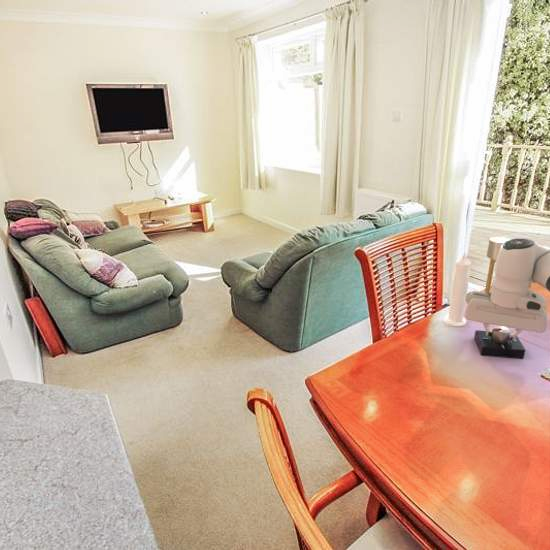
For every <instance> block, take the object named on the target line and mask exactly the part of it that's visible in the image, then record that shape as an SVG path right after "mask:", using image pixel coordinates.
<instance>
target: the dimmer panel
mask: <svg viewBox="0 0 550 550" xmlns="http://www.w3.org/2000/svg"><path fill="white" fill-rule="evenodd" d="M473 338H474V341H475V344H476V346H477V349H478V351H479V354H480V356H487V357H497V358H508V359H520V360H521V359H522V360H523V359H524V358H525V355H526V348H525V347H524V345H523V344H522V342H521V340H520V339H519V337H518V335H517V336H515V340H514V341H512V340H508V342H507V343H505V344H500V343H496V342H494V341H493V340H492V339H491V336H486V330H480V329H479V330H478V329H476V330H475V331H474V336H473Z"/></svg>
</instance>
